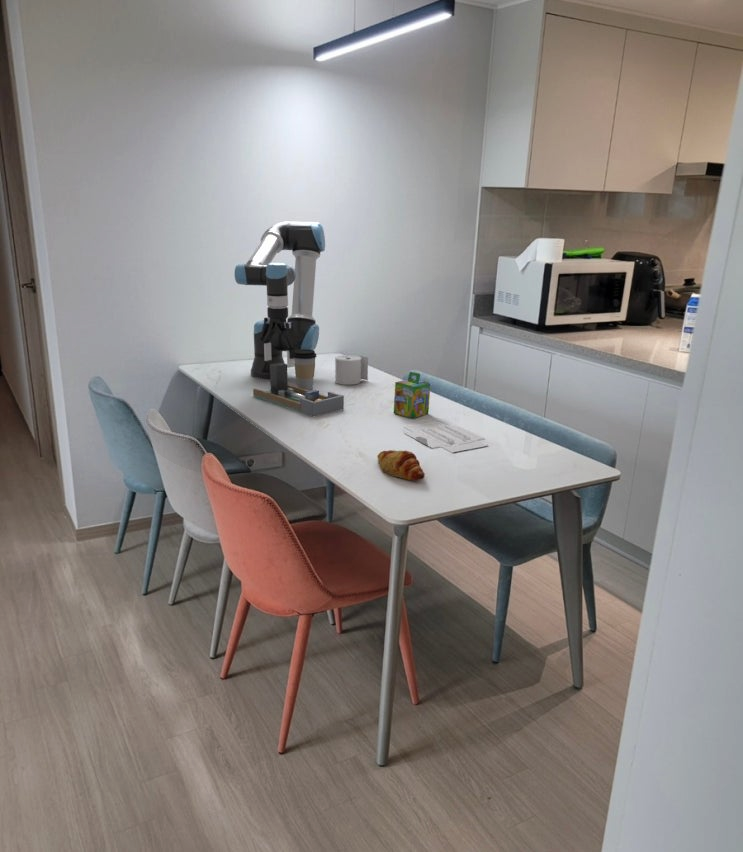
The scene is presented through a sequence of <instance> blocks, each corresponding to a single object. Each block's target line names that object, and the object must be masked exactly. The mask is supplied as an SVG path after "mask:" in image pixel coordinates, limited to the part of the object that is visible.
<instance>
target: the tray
mask: <svg viewBox="0 0 743 852" xmlns="http://www.w3.org/2000/svg"><path fill="white" fill-rule="evenodd" d="M403 428H404V429H406V430H408V431H409V432H405V433H404V435H407V436H409V437H411V438H412V439H414V440H416V441H418V442H420V443H422V444H424V445H426V446H427V447H430V448H431V450H434V449H439V448H441V449H443V450H445V451H447V452H449V453H451V454H453V453H455V452H461V451H467V450H473V449H478V448H482V447H489V445H488V444H485V443H484V442H481V441H483V440H485V439H486V438H485V437H483V436H482V435H478V434H476V433H474V432H472V431H470V430H469V429H468V430H467V429H465V428H464V427H461V426H460V425H457V424H453V425H447V424H444V423H442V422H440V421H437V420H436V421H431V422H424V423H418V424H413V425H412V424H411V425H405V426H403Z"/></svg>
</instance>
